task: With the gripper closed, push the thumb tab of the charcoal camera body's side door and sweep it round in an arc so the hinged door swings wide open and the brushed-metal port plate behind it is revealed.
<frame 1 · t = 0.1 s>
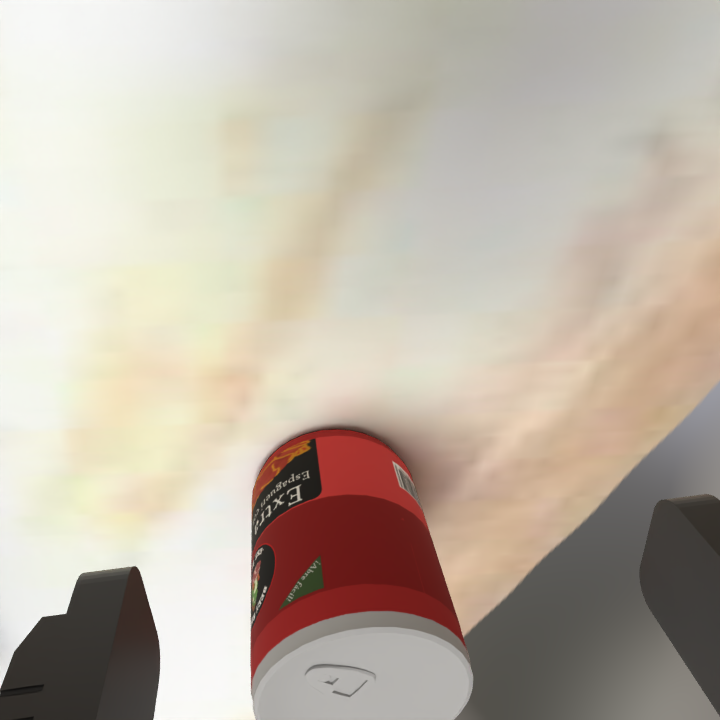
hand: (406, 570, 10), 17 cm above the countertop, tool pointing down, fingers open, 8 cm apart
canned food: (332, 484, 32), on the countertop
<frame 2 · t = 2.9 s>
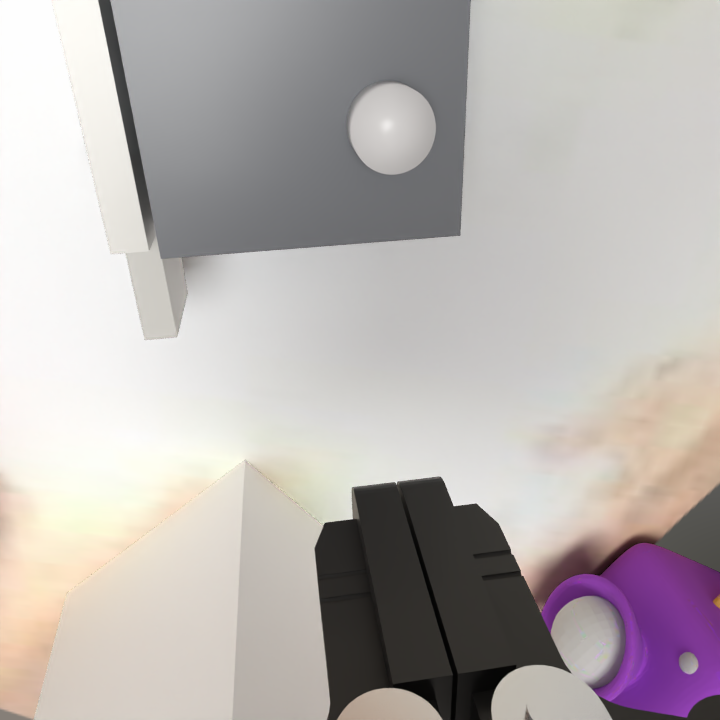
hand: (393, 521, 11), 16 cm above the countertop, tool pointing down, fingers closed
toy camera: (614, 592, 39), on the countertop
milk: (235, 583, 34), on the countertop
side door: (122, 93, 18), point 4 cm above the countertop, hinge at 0.0°
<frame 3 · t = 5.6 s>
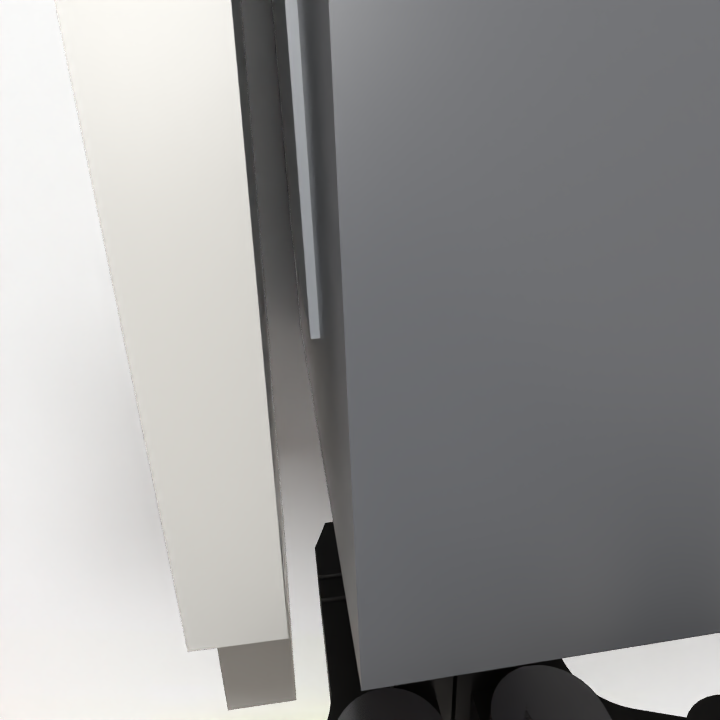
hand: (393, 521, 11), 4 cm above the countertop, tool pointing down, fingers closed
side door: (208, 201, 8), point 4 cm above the countertop, hinge at 1.4°, touching gripper
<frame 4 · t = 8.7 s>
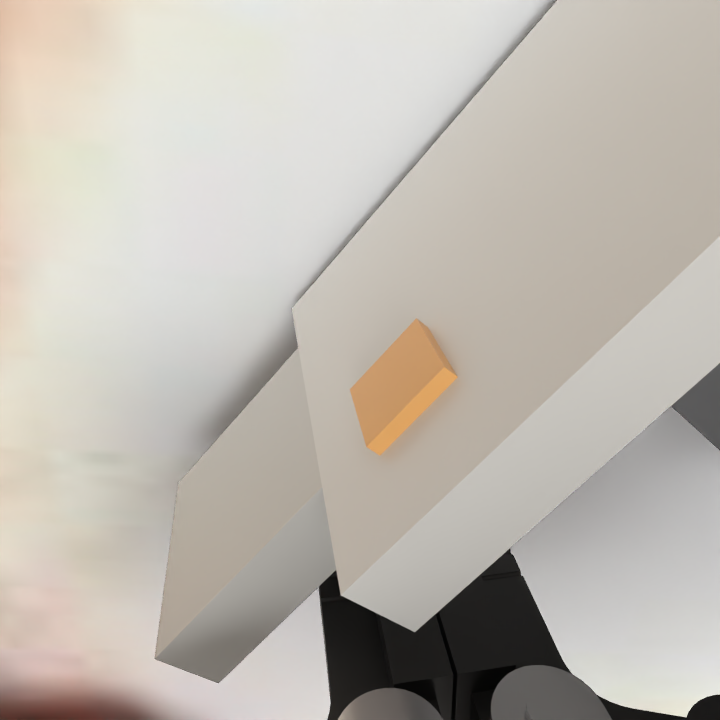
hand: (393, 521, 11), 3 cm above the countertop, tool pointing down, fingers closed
side door: (512, 229, 8), point 4 cm above the countertop, hinge at 43.6°, touching gripper
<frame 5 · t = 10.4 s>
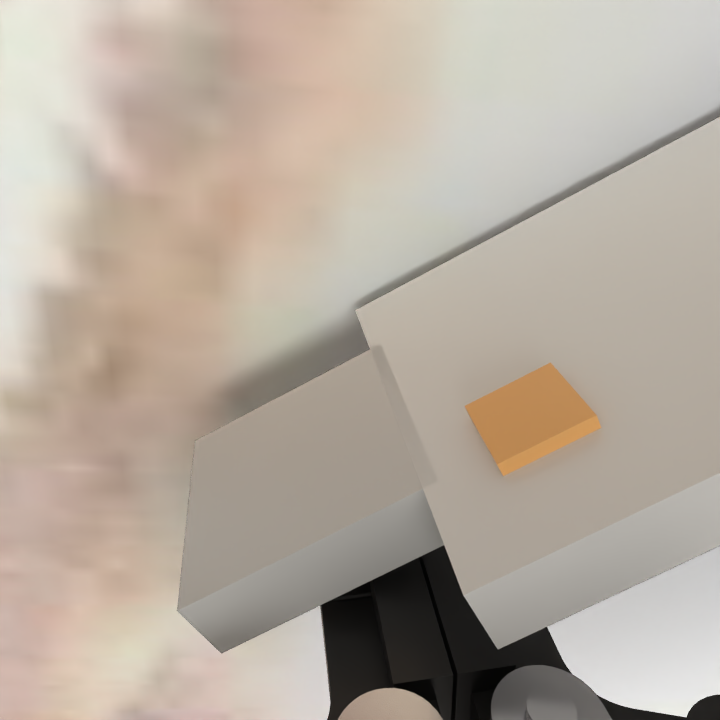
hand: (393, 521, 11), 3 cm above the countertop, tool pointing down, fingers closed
side door: (630, 314, 9), point 4 cm above the countertop, hinge at 65.2°, touching gripper
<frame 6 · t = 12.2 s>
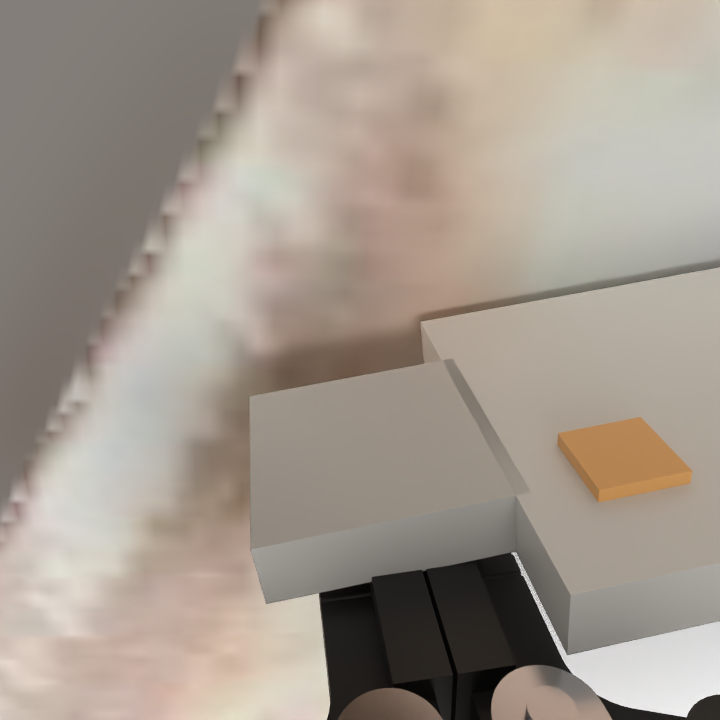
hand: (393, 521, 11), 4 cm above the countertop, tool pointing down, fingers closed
side door: (693, 397, 10), point 4 cm above the countertop, hinge at 84.9°, touching gripper
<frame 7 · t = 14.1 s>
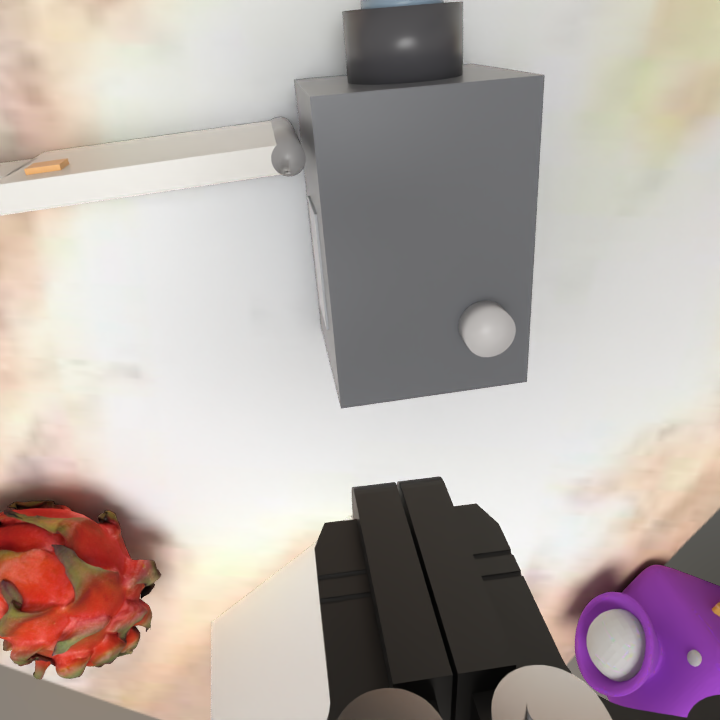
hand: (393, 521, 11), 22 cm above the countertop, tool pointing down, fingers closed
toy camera: (633, 605, 48), on the countertop
milk: (337, 610, 43), on the countertop
camera body: (391, 206, 31), on the countertop
dragon fruit: (66, 533, 37), on the countertop
side door: (119, 165, 25), point 4 cm above the countertop, hinge at 87.7°
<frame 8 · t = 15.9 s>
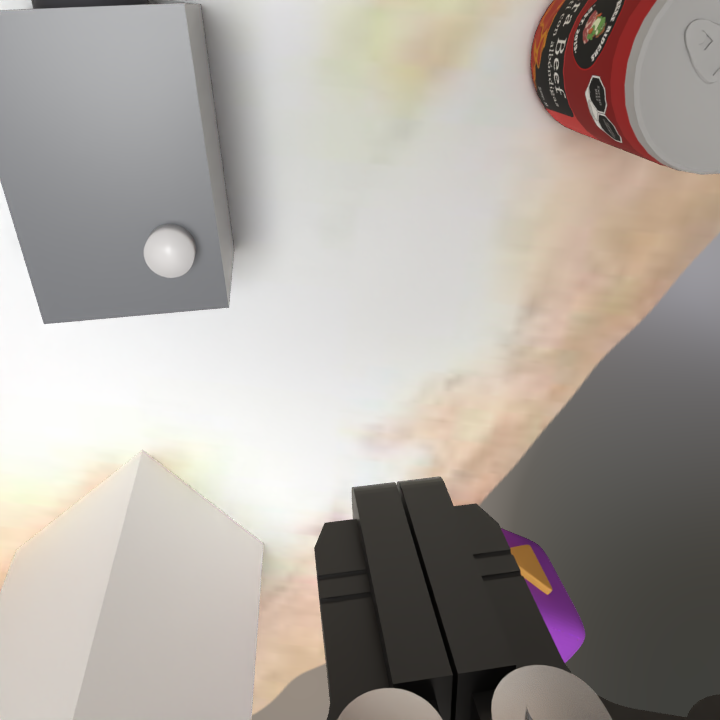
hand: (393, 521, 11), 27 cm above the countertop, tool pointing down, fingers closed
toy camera: (446, 554, 50), on the countertop
milk: (144, 544, 45), on the countertop
camera body: (139, 142, 33), on the countertop
canned food: (595, 54, 34), on the countertop
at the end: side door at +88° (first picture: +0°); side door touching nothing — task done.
